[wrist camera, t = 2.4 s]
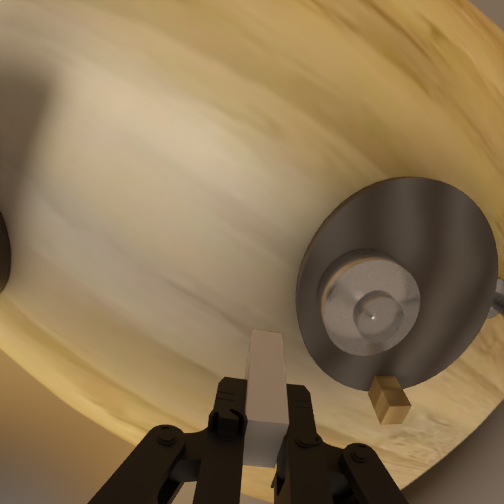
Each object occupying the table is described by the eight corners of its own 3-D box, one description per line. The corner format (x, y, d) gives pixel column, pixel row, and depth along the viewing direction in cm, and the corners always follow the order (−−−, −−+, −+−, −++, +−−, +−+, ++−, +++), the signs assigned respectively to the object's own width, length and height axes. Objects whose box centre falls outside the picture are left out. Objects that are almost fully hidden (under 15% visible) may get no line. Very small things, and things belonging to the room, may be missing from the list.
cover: (307, 328, 28) (316, 363, 23) (326, 241, 26) (343, 261, 21) (387, 335, 28) (408, 367, 23) (411, 255, 26) (441, 275, 21)
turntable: (276, 376, 32) (278, 422, 25) (319, 153, 26) (338, 149, 19) (447, 381, 32) (472, 415, 25) (506, 204, 26) (548, 216, 19)
